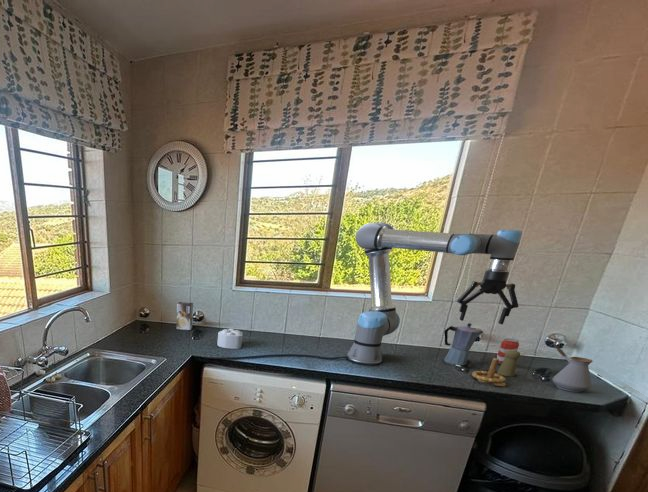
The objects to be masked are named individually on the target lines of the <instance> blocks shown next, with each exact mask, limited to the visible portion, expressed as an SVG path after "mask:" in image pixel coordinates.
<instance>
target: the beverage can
mask: <svg viewBox="0 0 648 492" xmlns="http://www.w3.org/2000/svg"><path fill="white" fill-rule="evenodd" d="M519 341H520V340H518V339H515V338H509V337H508V338H507V337H505V338H504V339H503V340H502V341H501V343H500V346H499V348H498V352H497V356H496V357H495V358H497V359H499V361H498V364H499V365H501V364H502V362H503V360H504V359H505V352H506V351H508V350H514V351H518V349H519V346H520V343H519ZM498 364H497V365H498Z"/></svg>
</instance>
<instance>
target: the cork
mask: <svg viewBox="0 0 648 492" xmlns="http://www.w3.org/2000/svg"><path fill="white" fill-rule="evenodd" d="M520 358H521V352H520V351H518V350H517V351H514V350H508V351H506V352H505V359H504V360H503V362H502V364H500V366H499V368H498V370H497V372H496V374H499V375H501V376H503V377H515V375H516V369H517V363H518V359H520Z"/></svg>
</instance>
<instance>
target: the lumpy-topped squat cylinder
mask: <svg viewBox="0 0 648 492" xmlns="http://www.w3.org/2000/svg"><path fill="white" fill-rule="evenodd" d="M243 333H244V332H243V331H240V330H239V329H234V328H224V329H222V330H220V331H218V333H217V344H216V345H217V346H218V347H220V348H224V349H231V350H240V349H242V347H243V346H242V345H243V344H242V343H243Z"/></svg>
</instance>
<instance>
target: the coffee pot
mask: <svg viewBox="0 0 648 492" xmlns="http://www.w3.org/2000/svg"><path fill="white" fill-rule="evenodd" d="M552 346H553V348H554V349H556V350H557V352H558V353H559V354H560V355H561V356H562V358H564V359H565V360H566V361H567V362H568V364H566V366H565V367H564V368H563V369H561V370H560V371H558V373H556V374H555V375H554V376H553V377H552V383H553V384H554V385H555V386H556V387H557V388H558V389H560V390H562V391H568V392H573V393H581V392H584V391H587V390H589V389H590V388H592V379H591V374H590V368H589V365H590V364H591V363H593V360H592V359H590V358H587V357H581V356H570V357H568V356H567V354H566V353H565V352H564V351H563V349H562V348H560V347H559V345H557V344H556V343H552V344H550V345H549V347H552Z"/></svg>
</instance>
